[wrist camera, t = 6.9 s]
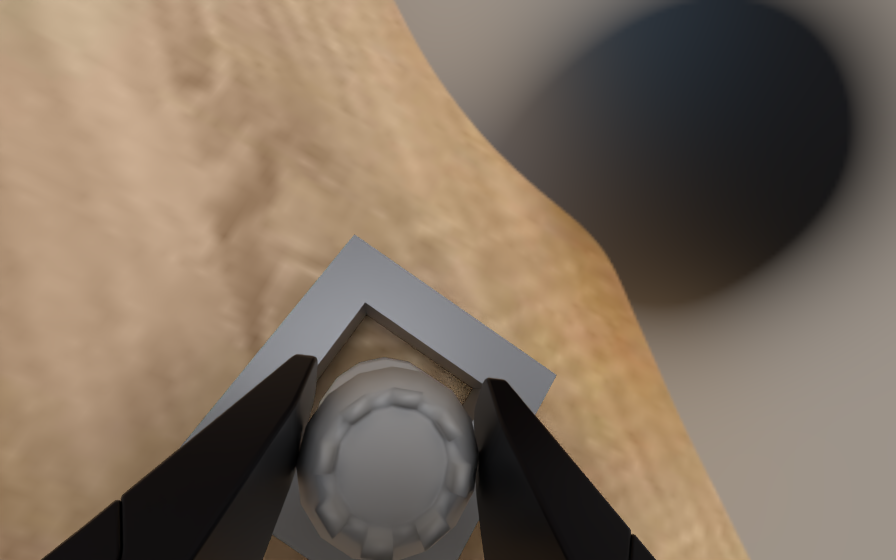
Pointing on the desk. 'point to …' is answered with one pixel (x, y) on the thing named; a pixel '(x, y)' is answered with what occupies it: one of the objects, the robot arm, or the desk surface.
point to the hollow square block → (416, 322)
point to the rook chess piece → (386, 461)
